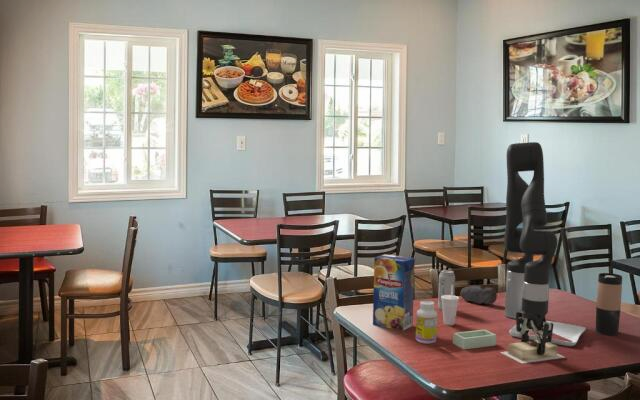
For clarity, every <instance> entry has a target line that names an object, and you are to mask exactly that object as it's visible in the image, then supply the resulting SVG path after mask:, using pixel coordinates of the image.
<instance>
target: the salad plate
mask: <svg viewBox="0 0 640 400" xmlns="http://www.w3.org/2000/svg"><path fill="white" fill-rule="evenodd" d="M546 322H548V323H553V332H552V334H555V335H557V336H560V337H562V338H563V339H566V340H569V341H566V340H561V339H557V338H552V340H551V342H550V343H552V344H554V345H559V346H560V345H561V346H565V347H575V345H576V344H577V343H578V341H579V338H580V337H581V336H582V334H583V333H584V332H585V331H586V329H587V328H586V327H585V326H581V325H574V324H569V323H565V322H559V321H558V322H557V321H551V320H546ZM520 327H521V324H520ZM508 333H509V334H510V335H511V336H512V337H514V338H519V339H521V334H520V332H517V330H516V324H515V325H514V326H512V327H511V328H510V329H509V331H508ZM528 335H529V341H530V340H533V341H535V340H537V337H536V336H535V335H534V334H528ZM540 337H541V339H542V336H541V335H540Z"/></svg>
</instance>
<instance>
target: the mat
mask: <svg viewBox="0 0 640 400" xmlns="http://www.w3.org/2000/svg"><path fill="white" fill-rule="evenodd" d="M500 353H501V354H502V355H504V356H506V357H508V358H510V359H513V360H514V361H516V362H518V363H519V364H527V363H535V362H544V361H549V360H558V359H564V358H565V356H563V355H562V354H559V353H557V356H550V357H543V358H536V359H529V360H520V359H518V358H516V357H514V356H512V355H510V354H508V351H500Z"/></svg>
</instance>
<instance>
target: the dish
mask: <svg viewBox="0 0 640 400" xmlns="http://www.w3.org/2000/svg"><path fill="white" fill-rule="evenodd" d="M452 344H453V345H455V346H457V347H459V348H460V349H462V350H470V349H478V348H484V347H485V348H486V347H494V346H497V334H495V333H494V332H491V331H490V330H487V329H477V330H468V331H461V332H453V335H452Z"/></svg>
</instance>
